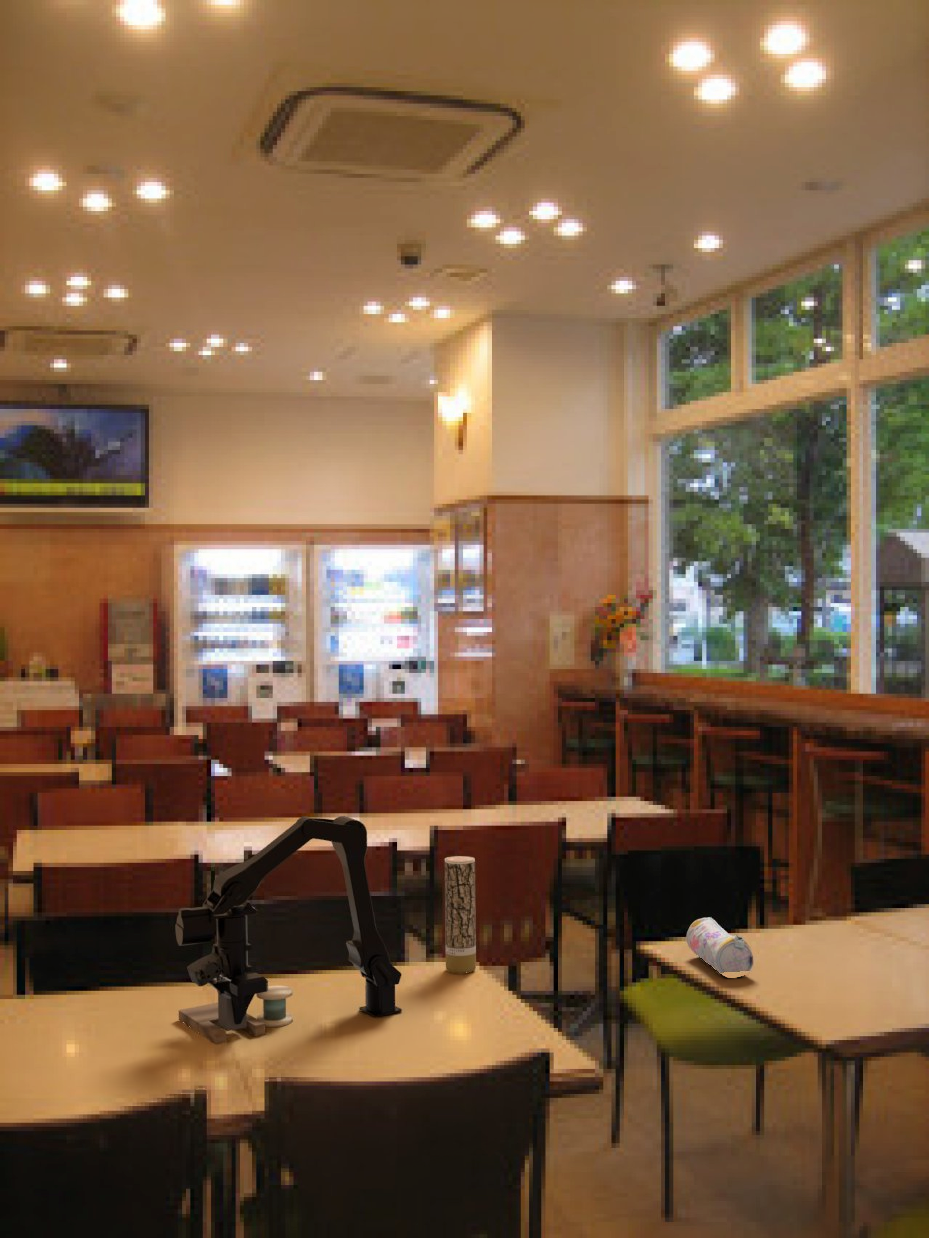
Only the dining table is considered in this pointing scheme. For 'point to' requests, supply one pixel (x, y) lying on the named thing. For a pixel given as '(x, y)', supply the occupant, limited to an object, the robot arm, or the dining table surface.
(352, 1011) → the dining table surface
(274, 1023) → the bobbin
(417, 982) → the dining table surface
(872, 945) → the dining table surface
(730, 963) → the pencil case
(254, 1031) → the notch board
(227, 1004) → the tab block
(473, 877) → the paper tube
